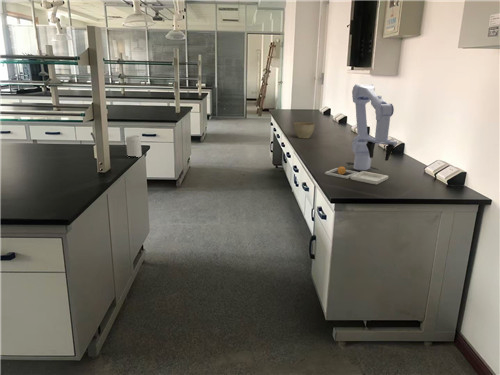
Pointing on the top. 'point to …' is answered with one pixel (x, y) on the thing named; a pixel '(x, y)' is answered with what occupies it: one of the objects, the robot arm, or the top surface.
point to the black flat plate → (353, 164)
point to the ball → (341, 170)
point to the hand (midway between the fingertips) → (378, 159)
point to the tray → (340, 175)
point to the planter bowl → (304, 129)
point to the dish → (369, 177)
